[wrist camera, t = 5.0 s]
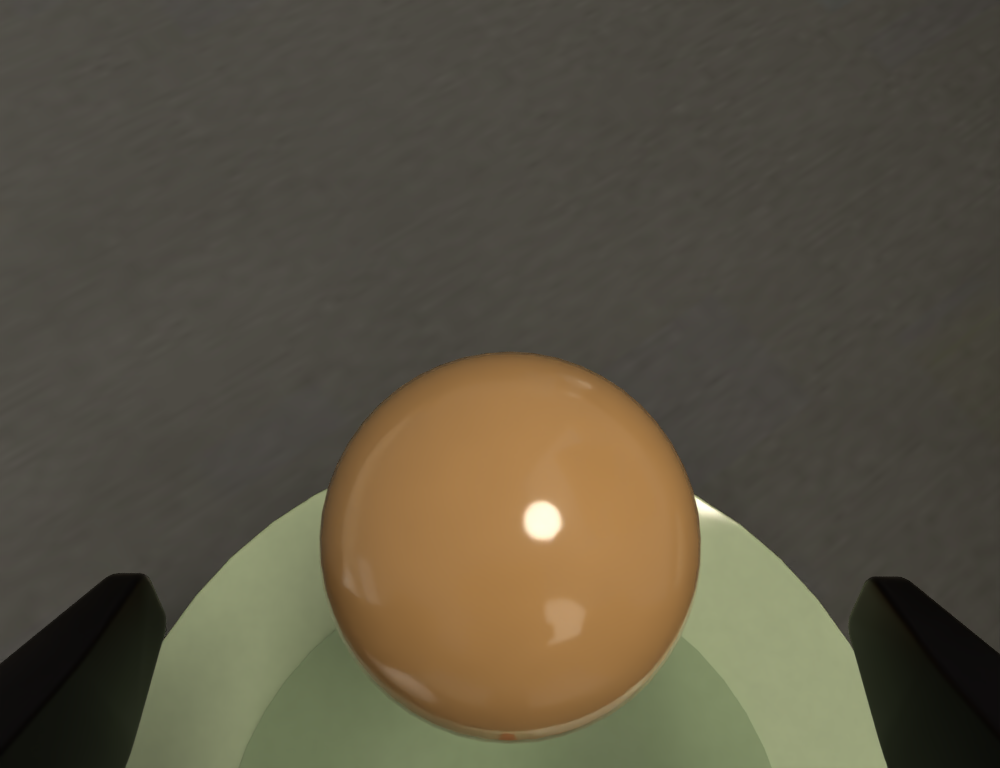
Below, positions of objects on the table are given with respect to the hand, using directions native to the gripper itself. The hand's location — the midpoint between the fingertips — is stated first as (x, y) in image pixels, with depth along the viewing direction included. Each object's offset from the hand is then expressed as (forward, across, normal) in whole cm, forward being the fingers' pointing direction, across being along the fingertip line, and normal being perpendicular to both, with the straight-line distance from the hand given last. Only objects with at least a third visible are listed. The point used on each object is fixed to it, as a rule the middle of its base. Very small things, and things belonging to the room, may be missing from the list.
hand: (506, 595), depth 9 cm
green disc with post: (+2, 0, +11) cm, 11 cm away
